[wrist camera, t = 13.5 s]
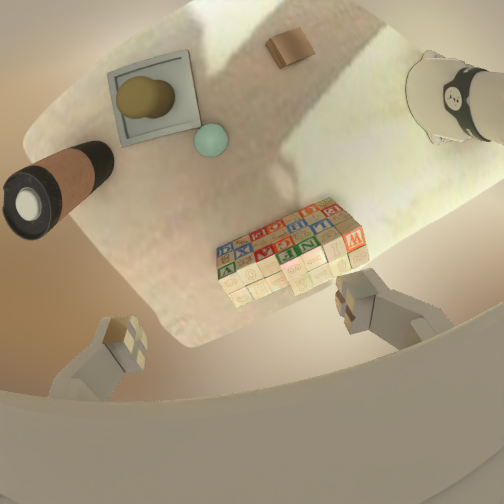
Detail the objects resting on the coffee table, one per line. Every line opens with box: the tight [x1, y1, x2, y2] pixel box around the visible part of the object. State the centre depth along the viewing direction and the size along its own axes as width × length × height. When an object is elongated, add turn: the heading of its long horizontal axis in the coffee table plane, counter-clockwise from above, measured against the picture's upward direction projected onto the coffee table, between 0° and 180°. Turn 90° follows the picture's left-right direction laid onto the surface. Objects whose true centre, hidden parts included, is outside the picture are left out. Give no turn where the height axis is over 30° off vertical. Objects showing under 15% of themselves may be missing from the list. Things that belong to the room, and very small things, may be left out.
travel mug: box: [2, 141, 114, 240], centre depth 29 cm, size 8×8×20 cm
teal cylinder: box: [194, 123, 228, 157], centre depth 37 cm, size 4×4×5 cm
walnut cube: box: [266, 27, 315, 68], centre depth 31 cm, size 4×4×4 cm
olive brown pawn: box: [116, 76, 175, 119], centre depth 29 cm, size 6×6×11 cm
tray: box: [107, 49, 202, 147], centre depth 34 cm, size 12×12×2 cm
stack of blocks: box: [217, 198, 370, 307], centre depth 43 cm, size 21×6×12 cm, turn 114°
